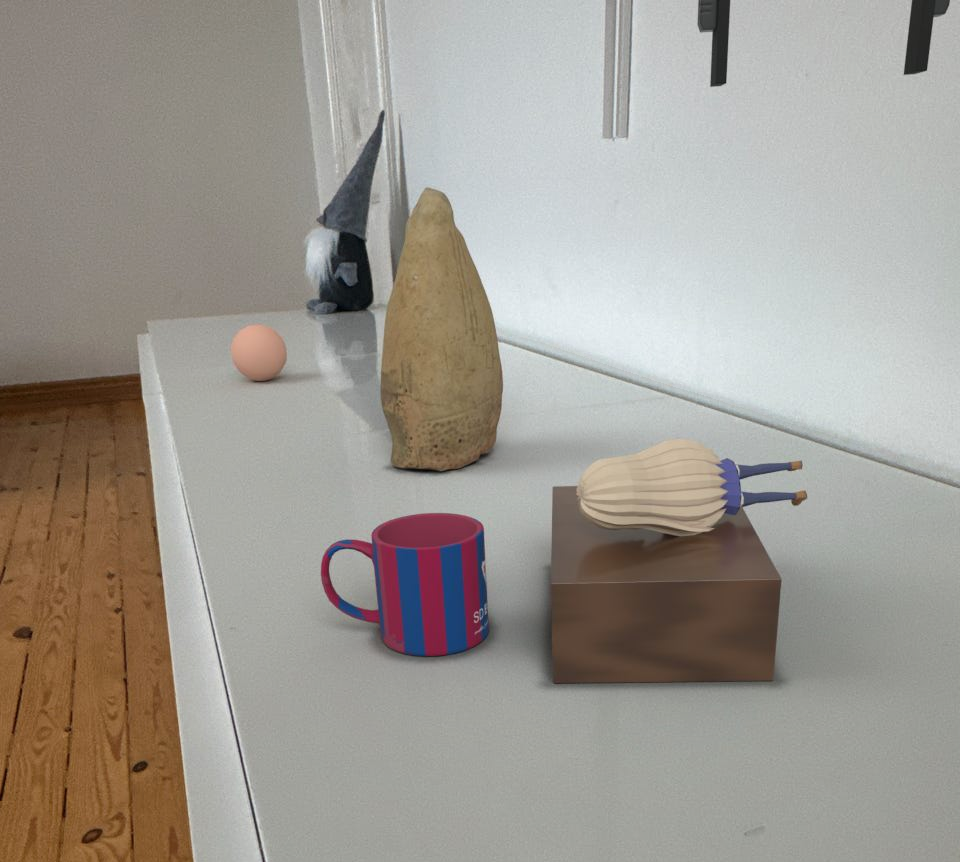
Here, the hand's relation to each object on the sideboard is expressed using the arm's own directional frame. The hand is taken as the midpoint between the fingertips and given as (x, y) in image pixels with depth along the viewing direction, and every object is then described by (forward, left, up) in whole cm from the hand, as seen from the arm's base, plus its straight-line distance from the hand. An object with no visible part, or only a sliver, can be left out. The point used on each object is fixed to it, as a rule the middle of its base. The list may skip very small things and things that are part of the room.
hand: (815, 79), depth 71 cm
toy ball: (+62, -64, -31) cm, 94 cm away
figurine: (+10, +24, -25) cm, 36 cm away
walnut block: (+13, +24, -31) cm, 41 cm away
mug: (+28, +26, -31) cm, 49 cm away
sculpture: (+30, -16, -31) cm, 46 cm away
